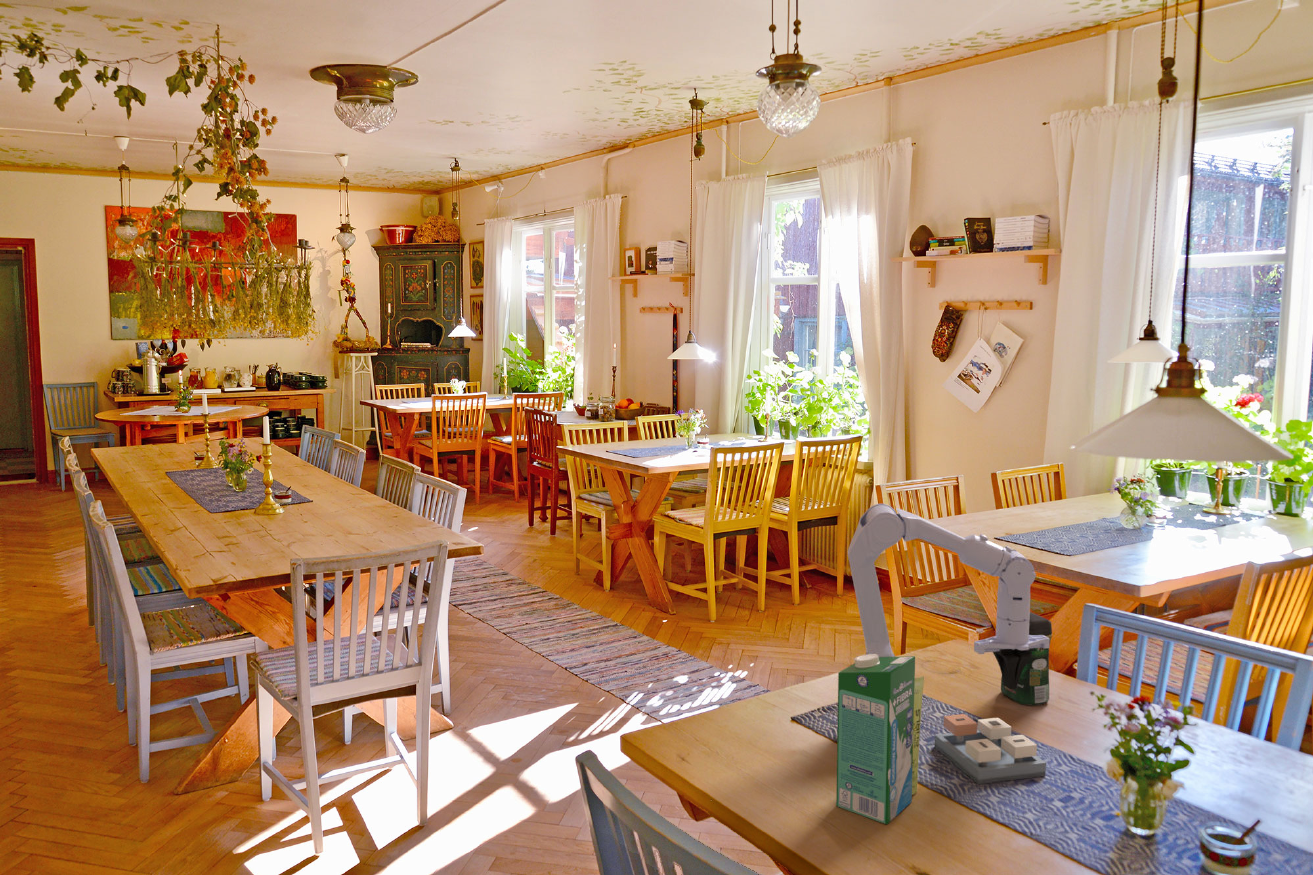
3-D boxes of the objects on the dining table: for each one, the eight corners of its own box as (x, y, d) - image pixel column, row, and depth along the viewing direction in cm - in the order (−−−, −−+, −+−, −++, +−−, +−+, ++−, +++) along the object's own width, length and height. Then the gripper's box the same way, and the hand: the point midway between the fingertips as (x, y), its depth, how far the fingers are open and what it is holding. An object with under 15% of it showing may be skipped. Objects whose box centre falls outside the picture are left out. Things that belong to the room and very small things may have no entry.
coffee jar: (993, 691, 196) (996, 607, 194) (1025, 687, 198) (1029, 604, 196) (1022, 709, 186) (1026, 621, 184) (1055, 704, 188) (1059, 617, 186)
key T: (1014, 769, 158) (1015, 746, 158) (1000, 758, 163) (1001, 736, 162) (1036, 766, 159) (1037, 744, 159) (1021, 755, 163) (1022, 734, 163)
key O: (990, 750, 166) (990, 728, 165) (977, 740, 170) (977, 719, 169) (1010, 747, 167) (1011, 726, 166) (997, 737, 171) (998, 716, 170)
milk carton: (861, 785, 156) (864, 643, 153) (911, 802, 150) (915, 655, 147) (835, 806, 149) (838, 658, 146) (886, 825, 143) (890, 671, 140)
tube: (912, 801, 150) (916, 687, 148) (881, 794, 152) (885, 681, 150) (920, 786, 155) (924, 676, 153) (890, 779, 157) (894, 670, 155)
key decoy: (955, 746, 164) (956, 724, 164) (943, 736, 168) (943, 715, 168) (976, 744, 165) (977, 722, 165) (963, 734, 169) (964, 713, 169)
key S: (978, 773, 157) (979, 750, 157) (965, 762, 161) (965, 740, 161) (1000, 771, 158) (1001, 748, 157) (986, 760, 162) (987, 738, 161)
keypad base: (977, 784, 156) (978, 770, 155) (934, 746, 170) (934, 734, 169) (1045, 775, 158) (1045, 762, 158) (997, 739, 172) (997, 727, 172)
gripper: (990, 626, 164) (987, 698, 166) (1061, 620, 167) (1058, 691, 169) (968, 614, 171) (966, 684, 173) (1037, 609, 174) (1034, 677, 176)
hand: (1010, 687), depth 171 cm, fingers closed
